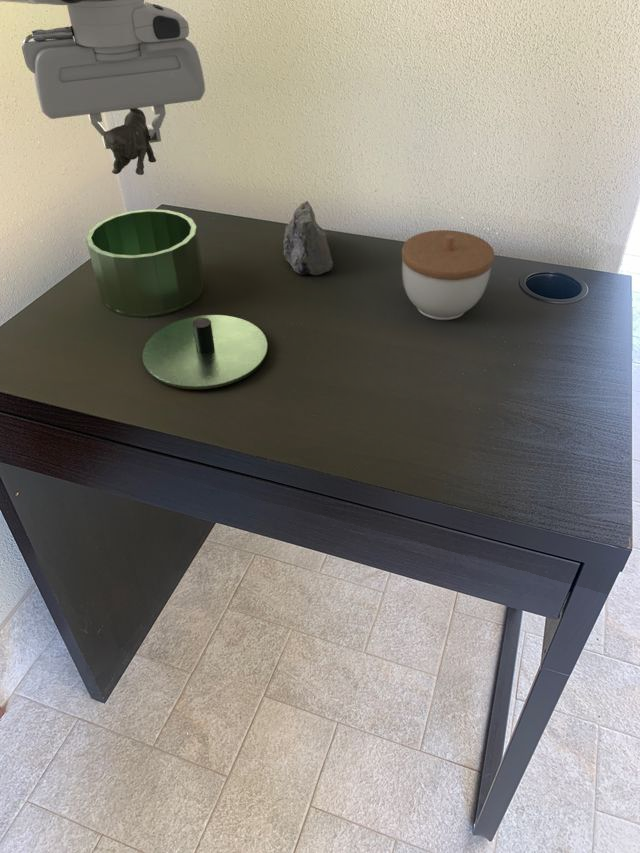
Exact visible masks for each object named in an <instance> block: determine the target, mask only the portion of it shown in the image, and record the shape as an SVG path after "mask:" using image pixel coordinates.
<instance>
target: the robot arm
mask: <svg viewBox="0 0 640 853" xmlns="http://www.w3.org/2000/svg"><path fill="white" fill-rule="evenodd" d="M1 2H3V3H16V4H28V5H29V4H30V5H47V6H67V7H66V8H67V12H68V17H69V20H70V26H64V27H63V26H62V27H54V28H50V29H35V30H32V31H31V34H28V35H27V36H26V37H25V38H23V40H22V44H21V51H22V55H23V59H24V62H25V65H26V67H27V69H28V70H29V72H31V73H32V74H34V81H35V82H34V83H35V88H36V93H37V98H38V103H39V107H40V110H41V112H42V113H43V114H44V115H45V116H46V117H47V118H48V119H50V120H54V119H55V120H56V119H64V118H70V117H79V116H85V115H86V116H87V115H88V119H89V122H90V124H91V125H92V127H94V128H95V130H96V131H97V132H98V133H99V134H100V135H101V139H102V143H103V146H104V148H105V149H104V150H111V149H110V148H109V146H108V144H107V141H106V139H105V138H104V136H103V133H104V132H106V131H107V130H106V129H105V127H104V126H103V125H102V124H101V123H102V122H103V117H102V114H103V113H111V112H119V111H125V110H126V111H127V110H130V109H135V108H138V109H142V108H151V110H152V113H154V116H153V118H152V122H151V124H149V125H148V124H146V131H147V137H148V141H149V143H150V144H152V143H160V142H162V137H161V130H160V129H161V128H162V124H163V122H164V119H165V117H166V114H167V112H166V106H165V105H173V104H183V103H189V102H197V101H200V100H202V99H203V97H204V95H205V93H206V82H205V76H204V72H203V67H202V62H201V58H200V54H199V52H198V50H197V48H196V46H195V44H194V43H193V41H191V40H190V39H189V38H188V36H189V34H190V26H189V22H188V20H187V18H186V17H185V16H184V15H183V14H182V13H180V12H178V11H176V10H175V9H172V8H170V7H166V6H162V5H160V4H154V3H150V2H147V0H0V3H1ZM30 40H31V41H30Z"/></svg>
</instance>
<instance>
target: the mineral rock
mask: <svg viewBox="0 0 640 853" xmlns="http://www.w3.org/2000/svg"><path fill="white" fill-rule="evenodd" d="M292 216H293V217H292V219H290V221H289V223H288V224H286V226H285V230H284V238H283V242H282V246H283V247H282V248H283V258H284V260H286V261H287V262H288V263H289V264H290V266H291V268H292V269H293V271H294V272H296V273H297V274H298V275H301V276H302V275H308V274H310V275H312V276H319V275H322V274H324V273H327V272H330V271H331V270H332V269H333V267H334V262H333V258H332V255H331V250H330V247H329V243H328V239H327V234H326V232H325V231H324V230H323V228H322V227H321V226H319V224H318V222H317V220H316V214H315V213H314V210H313V207H312V205H311V204H310V203H309V201H308V200H306V201H304V202H302V203H300V205H299V206H298V207H297V208H296V209H295V210H294V211H293V215H292Z"/></svg>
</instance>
